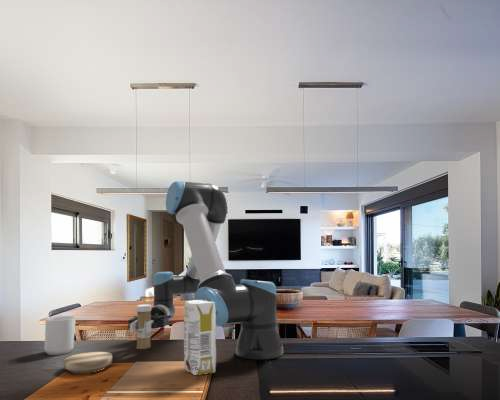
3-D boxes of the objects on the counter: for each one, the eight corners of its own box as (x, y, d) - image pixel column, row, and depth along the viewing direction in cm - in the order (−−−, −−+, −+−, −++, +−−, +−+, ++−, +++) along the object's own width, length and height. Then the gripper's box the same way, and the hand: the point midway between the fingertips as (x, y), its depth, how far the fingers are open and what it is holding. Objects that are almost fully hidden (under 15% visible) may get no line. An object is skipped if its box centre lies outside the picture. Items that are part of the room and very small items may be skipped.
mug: (62, 356, 131) (63, 320, 133) (38, 355, 133) (39, 320, 134) (84, 347, 143) (85, 314, 144) (62, 346, 145) (63, 314, 146)
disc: (117, 369, 116) (118, 358, 116) (68, 378, 108) (69, 366, 109) (105, 359, 126) (105, 349, 127) (59, 367, 119) (59, 356, 119)
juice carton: (193, 378, 107) (192, 304, 109) (181, 369, 114) (181, 300, 116) (219, 373, 111) (218, 301, 113) (206, 365, 118) (205, 298, 120)
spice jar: (133, 348, 131) (134, 305, 133) (145, 345, 134) (145, 303, 136) (142, 350, 128) (142, 306, 130) (154, 347, 131) (154, 304, 133)
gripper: (181, 326, 149) (167, 340, 126) (133, 327, 150) (111, 341, 126) (180, 305, 150) (167, 315, 127) (134, 306, 150) (111, 316, 127)
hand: (139, 328), depth 127 cm, fingers closed on spice jar, 4 cm apart
